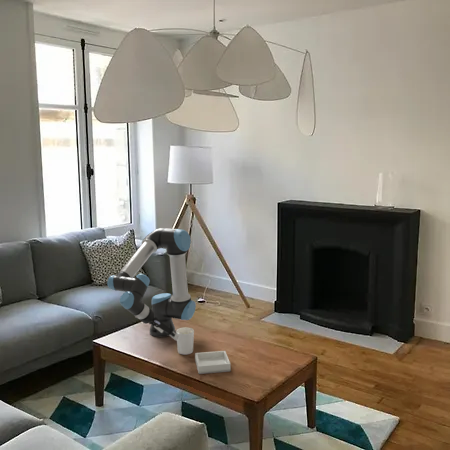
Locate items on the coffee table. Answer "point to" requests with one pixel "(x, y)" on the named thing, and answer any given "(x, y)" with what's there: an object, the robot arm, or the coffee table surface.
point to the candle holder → (185, 340)
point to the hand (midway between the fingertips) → (170, 334)
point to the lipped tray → (212, 362)
